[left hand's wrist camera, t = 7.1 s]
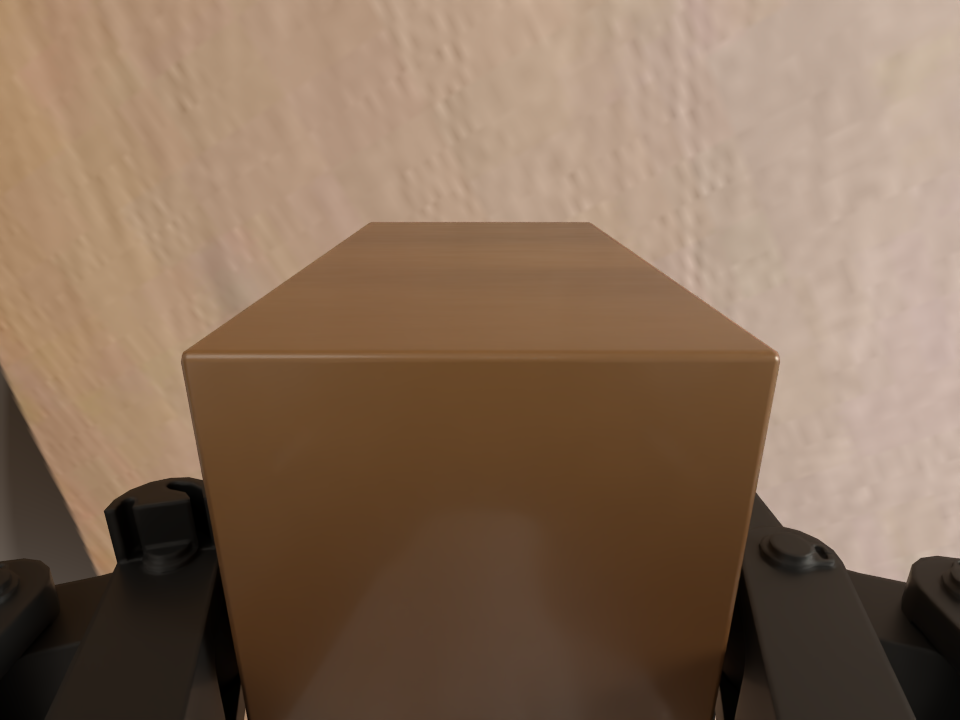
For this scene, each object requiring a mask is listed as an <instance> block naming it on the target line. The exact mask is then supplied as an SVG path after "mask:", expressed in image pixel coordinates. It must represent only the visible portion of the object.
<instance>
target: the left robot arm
mask: <svg viewBox="0 0 960 720" xmlns="http://www.w3.org/2000/svg"><path fill="white" fill-rule="evenodd" d="M104 513H105V517H106V521H107V525H108V529H109V533H110V536H111V540H112V544H113V548H114V552H115V556H116V560H117V565H116V567H115V569H114V571H113V573H109V574H105V575H102V576H97V577H92V578H87V579H83V580H78V581H73V582H68V583H63V584H58V585H55V584H54V581H53V578H52V575H51V571H50V568H49V567H48V566H47V565H45V564H44V563H43V562H41V561H39V560H32V559H16V560H8V561H1V562H0V720H244V715H245V703H244V697H243V692H242V686H241V681H240V676H239V670H238V665H237V660H236V654H235V649H234V643H233V638H232V633H231V627H230V622H229V617H228V611H227V606H226V600H225V595H224V590H223V584H222V579H221V574H220V568H219V563H218V557H217V552H216V547H215V541H214V536H213V531H212V525H211V520H210V514H209V509H208V504H207V498H206V493H205V488H204V482H203V480H199V479H194V478H190V477H185V478H168V479H163V480H159V481H154V482H150V483H147V484H144V485H142V486H139V487H137V488H134V489H131V490H129V491H128V492H126V493H125V494H123V495H121V496H120V497H118V498H116V499H115V500H114V501H113V502H112V503H111V504H110V505H109V506H108V507H107V508H106V509H105V510H104ZM715 715H716V720H960V559H959V558H950V557H942V556H933V557H925V558H920V559H919V560H918V561H916V562H915V563H914V564H912V567H911V570H910V573H909V576H908V580H907V583H905V582H901V581H896V580H891V579H886V578H881V577H876V576H871V575H866V574H861V573H857V572H854V571H850V570H846V568H845V566H844V564H843V562H842V561H841V559H840V558H839V557H838V556H837V554H836V553H835V552H834V550H832V549H831V548H830V547H828V546H827V545H825V544H824V543H823V542H821V541H820V540H818V539H817V538H814V537H812V536H810V535H808V534H805V533H803V532H801V531H798V530H794V529H790V528H786V527H783V526H782V525H781V523H780V522H779V521H778V520H777V518H776V517H775V516H774V515H773V513H772V512H771V511H770V510H769V508H768V507H767V506H766V505H765V503H764V502H763V501H762V500H761V498H760V497H759V496H758V495H757V493H755V498H754V503H753V509H752V514H751V519H750V525H749V530H748V535H747V541H746V546H745V551H744V557H743V562H742V567H741V573H740V578H739V583H738V589H737V594H736V600H735V605H734V610H733V616H732V621H731V626H730V632H729V637H728V642H727V648H726V653H725V658H724V664H723V669H722V674H721V680H720V685H719V690H718V696H717V701H716V706H715V712H714V717H713V720H715Z"/></svg>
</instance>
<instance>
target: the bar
mask: <svg viewBox="0 0 960 720" xmlns="http://www.w3.org/2000/svg"><path fill="white" fill-rule="evenodd" d="M181 364H182V369H183V375H184V380H185V386H186V391H187V396H188V402H189V407H190V412H191V418H192V423H193V429H194V434H195V439H196V445H197V450H198V455H199V461H200V466H201V472H202V477H203V482H204V488H205V493H206V498H207V504H208V509H209V514H210V520H211V525H212V531H213V536H214V541H215V547H216V552H217V557H218V563H219V568H220V574H221V579H222V584H223V590H224V595H225V600H226V606H227V611H228V617H229V622H230V627H231V633H232V638H233V643H234V649H235V654H236V660H237V665H238V670H239V676H240V681H241V686H242V692H243V697H244V703H245V708H246V713H247V719H248V720H713V717H714V712H715V706H716V701H717V696H718V690H719V685H720V680H721V674H722V669H723V664H724V658H725V653H726V648H727V642H728V637H729V632H730V626H731V621H732V616H733V610H734V605H735V600H736V594H737V589H738V583H739V578H740V573H741V567H742V562H743V557H744V551H745V546H746V541H747V535H748V530H749V525H750V519H751V514H752V509H753V503H754V498H755V493H756V487H757V482H758V477H759V471H760V466H761V460H762V455H763V450H764V444H765V439H766V434H767V428H768V423H769V418H770V412H771V407H772V402H773V396H774V391H775V386H776V380H777V375H778V370H779V364H780V359H779V355H778V352H776V351H775V350H774V349H772V348H771V347H769V346H768V345H766V344H765V343H763V342H762V341H761V340H759V339H758V338H756V337H755V336H753V335H752V334H750V333H749V332H748V331H746V330H745V329H743V328H742V327H740V326H739V325H737V324H736V323H735V322H733V321H732V320H730V319H729V318H727V317H726V316H724V315H723V314H722V313H720V312H719V311H717V310H716V309H714V308H713V307H711V306H710V305H709V304H707V303H706V302H704V301H703V300H701V299H700V298H698V297H697V296H696V295H694V294H693V293H691V292H690V291H688V290H687V289H685V288H684V287H683V286H681V285H680V284H678V283H677V282H675V281H674V280H672V279H671V278H670V277H668V276H667V275H665V274H664V273H662V272H661V271H659V270H658V269H657V268H655V267H654V266H652V265H651V264H649V263H648V262H646V261H645V260H644V259H642V258H641V257H639V256H638V255H636V254H635V253H633V252H632V251H631V250H629V249H628V248H626V247H625V246H623V245H622V244H620V243H619V242H618V241H616V240H615V239H613V238H612V237H610V236H609V235H607V234H606V233H605V232H603V231H602V230H600V229H599V228H597V227H596V226H595V225H593V224H592V223H589V222H371V223H369V224H367V225H366V226H364V227H363V228H361V229H360V230H359V231H357V232H356V233H354V234H353V235H351V236H350V237H349V238H347V239H346V240H344V241H343V242H341V243H340V244H338V245H337V246H336V247H334V248H333V249H331V250H330V251H328V252H327V253H326V254H324V255H323V256H321V257H320V258H318V259H317V260H315V261H314V262H313V263H311V264H310V265H308V266H307V267H305V268H304V269H302V270H301V271H300V272H298V273H297V274H295V275H294V276H292V277H291V278H290V279H288V280H287V281H285V282H284V283H282V284H281V285H279V286H278V287H277V288H275V289H274V290H272V291H271V292H269V293H268V294H267V295H265V296H264V297H262V298H261V299H259V300H258V301H256V302H255V303H254V304H252V305H251V306H249V307H248V308H246V309H245V310H243V311H242V312H241V313H239V314H238V315H236V316H235V317H233V318H232V319H231V320H229V321H228V322H226V323H225V324H223V325H222V326H220V327H219V328H218V329H216V330H215V331H213V332H212V333H210V334H209V335H208V336H206V337H205V338H203V339H202V340H200V341H199V342H197V343H196V344H195V345H193V346H192V347H190V348H189V349H187V350H186V351H184V352H183V355H182V359H181Z"/></svg>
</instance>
